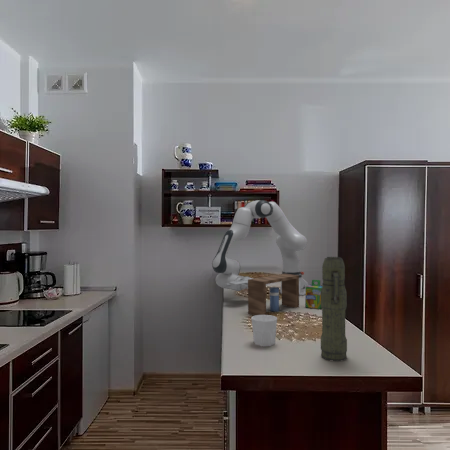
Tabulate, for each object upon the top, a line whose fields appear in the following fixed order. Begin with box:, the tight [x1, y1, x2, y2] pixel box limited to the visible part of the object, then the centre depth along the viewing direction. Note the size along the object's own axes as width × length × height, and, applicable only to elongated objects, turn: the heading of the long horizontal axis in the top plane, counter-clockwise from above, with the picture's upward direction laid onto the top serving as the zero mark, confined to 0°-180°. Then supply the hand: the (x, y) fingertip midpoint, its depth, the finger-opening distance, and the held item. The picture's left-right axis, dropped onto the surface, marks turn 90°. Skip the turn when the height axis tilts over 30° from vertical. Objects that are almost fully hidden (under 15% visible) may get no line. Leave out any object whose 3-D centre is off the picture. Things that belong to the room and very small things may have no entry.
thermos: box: [320, 256, 348, 362], centre depth 137 cm, size 9×12×35 cm
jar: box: [269, 286, 280, 312], centre depth 207 cm, size 5×5×12 cm
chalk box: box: [304, 279, 322, 310], centre depth 214 cm, size 9×9×15 cm
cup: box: [250, 314, 278, 347], centre depth 153 cm, size 10×10×10 cm
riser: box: [247, 273, 300, 316], centre depth 207 cm, size 30×10×18 cm, turn 133°
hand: (255, 286), depth 216 cm, fingers open, 8 cm apart
